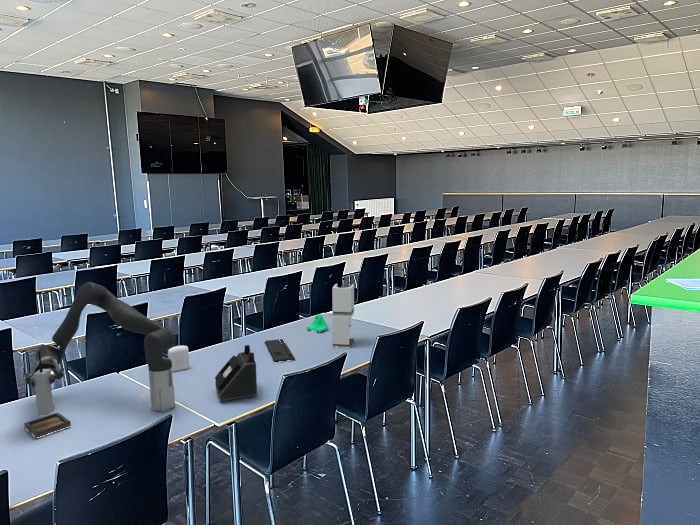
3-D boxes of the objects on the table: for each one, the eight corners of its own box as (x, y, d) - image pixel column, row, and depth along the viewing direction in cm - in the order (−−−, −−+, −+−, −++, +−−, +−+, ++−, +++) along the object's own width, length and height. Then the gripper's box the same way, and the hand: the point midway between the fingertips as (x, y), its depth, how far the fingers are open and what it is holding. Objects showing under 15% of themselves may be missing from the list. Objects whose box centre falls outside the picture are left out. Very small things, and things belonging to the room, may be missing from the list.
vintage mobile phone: (55, 409, 196) (48, 348, 192) (47, 415, 191) (41, 352, 187) (45, 409, 196) (38, 348, 192) (37, 415, 191) (31, 352, 187)
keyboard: (295, 361, 267) (295, 358, 267) (274, 364, 264) (274, 360, 264) (283, 341, 301) (283, 338, 300) (264, 343, 297) (264, 340, 297)
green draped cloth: (305, 330, 321) (305, 315, 320) (313, 327, 328) (312, 312, 326) (320, 333, 315) (320, 318, 313) (327, 331, 321) (327, 315, 319)
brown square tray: (70, 427, 195) (70, 421, 195) (36, 439, 186) (35, 433, 186) (58, 418, 203) (57, 412, 203) (24, 429, 194) (24, 423, 193)
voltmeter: (215, 389, 231) (213, 347, 227) (250, 384, 236) (249, 343, 233) (219, 404, 216) (217, 359, 213) (257, 398, 222) (255, 354, 218)
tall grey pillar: (351, 348, 287) (350, 288, 281) (332, 347, 289) (332, 287, 283) (354, 342, 298) (353, 284, 293) (336, 341, 300) (336, 283, 294)
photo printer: (188, 366, 260) (186, 343, 258) (190, 368, 256) (189, 345, 254) (167, 370, 254) (166, 346, 252) (169, 373, 251) (168, 349, 249)
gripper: (24, 361, 200) (18, 376, 185) (65, 356, 207) (63, 370, 192) (26, 379, 202) (20, 396, 187) (67, 373, 208) (65, 388, 193)
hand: (42, 382), depth 189 cm, fingers closed on vintage mobile phone, 5 cm apart
